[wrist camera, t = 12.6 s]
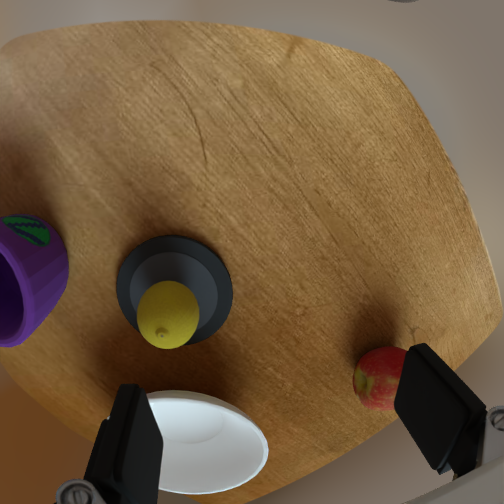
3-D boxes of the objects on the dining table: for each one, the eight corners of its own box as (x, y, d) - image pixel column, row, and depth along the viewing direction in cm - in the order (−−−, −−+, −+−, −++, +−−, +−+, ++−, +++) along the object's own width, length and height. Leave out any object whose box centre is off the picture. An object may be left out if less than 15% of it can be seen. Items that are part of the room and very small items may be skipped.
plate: (116, 231, 29) (113, 233, 28) (236, 238, 31) (237, 240, 30) (122, 337, 32) (120, 341, 32) (228, 344, 34) (229, 349, 33)
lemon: (211, 304, 32) (210, 347, 24) (166, 328, 32) (155, 374, 24) (181, 259, 30) (170, 291, 22) (136, 286, 30) (114, 323, 22)
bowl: (123, 337, 32) (107, 374, 26) (284, 380, 36) (296, 418, 30) (108, 439, 37) (99, 473, 30) (233, 467, 41) (237, 501, 34)
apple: (355, 335, 36) (384, 373, 28) (409, 334, 37) (442, 366, 29) (338, 386, 38) (360, 427, 30) (390, 382, 39) (417, 417, 31)
